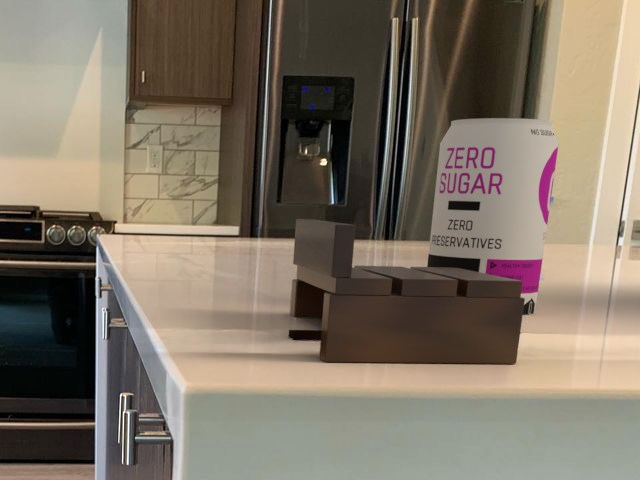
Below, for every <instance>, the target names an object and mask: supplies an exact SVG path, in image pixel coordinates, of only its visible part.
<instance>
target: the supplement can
mask: <svg viewBox="0 0 640 480" xmlns="http://www.w3.org/2000/svg"><path fill="white" fill-rule="evenodd" d="M558 151H559V142H558V139H557V136H556V133H555V130H554V128H553V121H552V120H547V119H538V118H517V117H516V118H515V117H514V118H513V117H512V118H511V117H510V118H509V117H490V118H489V117H488V118H487V117H485V118H484V117H483V118H465V119H455V120H451V121H450V127H449V128H448V129H447V132H446V133H445V134H444V136H443V138H442V139H441V141H440V143H439V151H438V160H437V171H436V172H437V173H436V179H435V187H434V190H435V192H434V197H433V198H434V199H433V209H432V218H431V227H430V235H429V246H428V254H427V255H428V256H427V266H426V267H447V268H461V269H466V270H471V271H476V272H480V273H485V274H490V275H495V276H500V277H505V278H510V279H515V280H519V281H522V290H521V297H522V298H525V301H524V309H523V316H530V315H532V314H533V315H534V314H536V309H537V300H538V295H539V293H538V292H539V288H540V287H539V286H540V280H541V273H542V266H543V265H542V264H543V259H544V253H545V252H544V250H545V244H546V237H547V230H548V223H549V215H550V208H551V203H552V195H553V187H554V181H555V179H554V178H555V173H556V165H557V158H558ZM521 334H522V332H520V335H521Z"/></svg>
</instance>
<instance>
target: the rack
mask: <svg viewBox="0 0 640 480" xmlns="http://www.w3.org/2000/svg"><path fill="white" fill-rule="evenodd" d="M355 235H356V224H352V223H345V222H344V223H343V222H337V221H336V222H335V221H329V220H320V219H312V218H296V220H295V231H294V245H293V259H292V264H293V265H295V266H296V278H293V279H292V280H291V291H290V292H291V293H290V304H289V305H290V306H289V315H290V316H291V317H292V318H315V319H317V318H318V319H319V318H320V319H321V329H288V338H289V339H291V340H293V341H320V344H319V359H320V360H322V361H324V362H325V363H381V364H382V363H385V364H386V363H387V364H389V363H391V364H393V363H395V364H396V363H397V364H481V365H482V364H483V365H484V364H486V365H488V364H489V365H491V364H492V365H495V364H496V365H515V364H517V358H518V351H519V344H520V336H521V334H520V333H521V329H522V322H523V316H524V315H523V309H524V301H525V298H522V297H521V290H522V281H519V280H515V279H510V278H505V277H500V276H495V275H490V274H485V273H480V272H476V271H471V270H466V269H461V268H447V267H427V266H410V268H409V267H406V266H394V265H393V266H392V265H390V266H389V265H354V266H353V262H354V261H353V258H354V249H355V248H354V247H355Z"/></svg>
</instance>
